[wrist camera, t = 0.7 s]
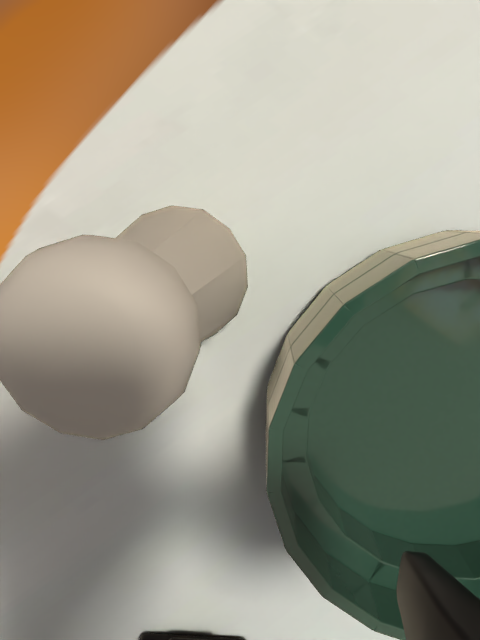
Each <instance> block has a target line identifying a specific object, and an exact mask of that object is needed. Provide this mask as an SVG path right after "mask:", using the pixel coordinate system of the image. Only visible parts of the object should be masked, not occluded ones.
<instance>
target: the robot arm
mask: <svg viewBox="0 0 480 640" xmlns="http://www.w3.org/2000/svg"><path fill="white" fill-rule="evenodd" d="M397 601H398V605H399V610H400V614H401V618H402V623H403V627H404V631H405V636H406V640H480V599H479V598H478V597H477V596H475V595H474V594H473V593H472V592H471V591H470V590H468V589H467V588H466V587H465V586H464V585H463V584H461V583H460V582H459V581H458V580H457V579H456V578H455V577H453V576H452V575H451V574H450V573H449V572H448V571H446V570H445V569H444V568H443V567H442V566H441V565H439V564H438V563H437V562H436V561H435V560H434V559H433V558H431V557H430V556H429V555H428V554H426V553H423V552H412V551H405V552H404V553H403V554H402V556H401V562H400V568H399V575H398V581H397ZM140 640H243V639H240V638H223V637H206V636H188V635H170V634H153V633H145V634H143V635H141V637H140Z"/></svg>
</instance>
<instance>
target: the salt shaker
mask: <svg viewBox="0 0 480 640" xmlns="http://www.w3.org/2000/svg"><path fill="white" fill-rule="evenodd" d="M247 287H248V285H247V267H246V255H245V253H244V252H243V250H242V248H241V247H240V245H239V243H238V242H237V240H236V239H235V237H234V235H233V234H232V232H231V230H230V229H229V228H228V227H227V226H225V225H224V224H223V223H221V222H220V221H218V220H217V219H216V218H214V217H213V216H212V215H210V214H209V213H207V212H206V211H205V210H203V209H195V208H187V207H179V206H168V207H165V208H162V209H159V210H156V211H152V212H149V213H146V214H143V215H141V216H140V217H139V218H138V219H137V220H135V221H134V222H133V223H132V224H131V225H130V226H129V227H128V228H126V229H125V230H124V231H123V232H122V233H121V234H120V235H119V236H117V237H116V238H109V237H102V236H94V235H80V236H77V237H74V238H71V239H68V240H64V241H61V242H58V243H55V244H52V245H49V246H46V247H42V248H39V249H37V250H36V251H34V252H32V253H30V254H29V255H27V256H25V258H24V259H23V260H22V261H21V262H20V263H19V264H18V265H17V266H16V268H15V269H14V270H13V271H12V272H11V273H10V274H9V275H8V276H7V278H6V279H5V280H4V281H3V282H2V283H1V284H0V381H1V382H2V383H3V385H4V386H5V388H6V389H7V390H8V392H9V393H10V395H11V396H12V397H13V399H14V400H15V401H16V403H17V404H18V406H19V407H20V408H21V410H22V411H24V412H26V413H27V414H29V415H31V416H32V417H34V418H36V419H37V420H39V421H41V422H42V423H44V424H46V425H48V426H49V427H51V428H53V429H54V430H56V431H58V432H59V433H63V434H69V435H75V436H81V437H87V438H93V439H99V440H105V439H109V438H112V437H116V436H119V435H123V434H126V433H130V432H133V431H137V430H140V429H143V428H145V427H146V426H147V425H148V424H149V423H150V422H152V421H153V420H154V419H155V418H156V417H157V416H158V415H160V414H161V413H162V412H163V411H164V410H165V409H167V408H168V407H169V406H170V405H171V404H172V403H174V402H175V401H176V400H177V399H178V398H179V397H180V396H181V395H182V394H183V393H184V392H185V389H186V387H187V384H188V381H189V378H190V376H191V373H192V370H193V367H194V365H195V362H196V359H197V357H198V354H199V350H200V346H201V342H202V341H204V340H205V339H207V338H209V337H211V336H213V335H214V334H216V333H217V332H218V331H219V330H220V329H221V328H223V327H224V326H225V325H226V324H227V323H228V322H229V321H231V320H232V319H233V318H234V317H235V316H236V315H237V314H238V311H239V308H240V306H241V303H242V300H243V298H244V295H245V292H246V290H247Z"/></svg>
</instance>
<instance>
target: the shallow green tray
mask: <svg viewBox="0 0 480 640" xmlns="http://www.w3.org/2000/svg"><path fill="white" fill-rule="evenodd" d="M265 441H266V491H267V495H268V498H269V501H270V504H271V507H272V510H273V513H274V516H275V519H276V522H277V525H278V528H279V531H280V534H281V537H282V540H283V543H284V546H285V548H286V551H287V552H288V553H289V555H290V556H291V557H292V559H293V560H294V561H295V562H296V564H297V565H298V566H299V567H300V569H301V570H302V571H303V573H304V574H305V575H306V576H307V578H308V579H309V580H310V582H311V583H312V584H313V585H314V587H315V588H316V589H317V590H318V592H319V593H320V594H321V596H322V597H324V598H325V599H327V600H328V601H330V602H331V603H333V604H334V605H336V606H337V607H339V608H340V609H341V610H343V611H344V612H346V613H347V614H349V615H350V616H352V617H353V618H355V619H356V620H358V621H359V622H361V623H362V624H364V625H365V626H367V627H368V628H370V629H371V630H374V631H375V632H378V633H381V634H384V635H387V636H391V637H394V638H397V639H400V640H406V636H405V631H404V627H403V623H402V618H401V614H400V610H399V605H398V601H397V581H398V575H399V568H400V562H401V556H402V554H403V553H404V552H405V551H412V552H423V553H426V554H428V555H429V556H430V557H431V558H433V559H434V560H435V561H436V562H437V563H438V564H439V565H441V566H442V567H443V568H444V569H445V570H446V571H448V572H449V573H450V574H451V575H452V576H453V577H455V578H456V579H457V580H458V581H459V582H460V583H461V584H463V585H464V586H465V587H466V588H467V589H468V590H470V591H471V592H472V593H473V594H474V595H475V596H477V597H478V598H479V599H480V231H462V230H446V231H441V232H438V233H435V234H431V235H428V236H425V237H421V238H418V239H415V240H411V241H408V242H405V243H401V244H398V245H394V246H391V247H388V248H384V249H382V250H379V251H378V252H376V253H375V254H373V255H372V256H370V257H369V258H367V259H366V260H364V261H363V262H361V263H360V264H358V265H357V266H355V267H354V268H352V269H351V270H349V271H348V272H346V273H345V274H343V275H342V276H340V277H338V278H337V279H335V280H334V281H332V282H331V283H329V284H328V285H327V286H326V287H325V288H324V289H323V290H322V291H321V293H320V294H319V295H318V296H317V298H316V299H315V300H314V301H313V303H312V304H311V305H310V306H309V307H308V309H307V310H306V311H305V312H304V314H303V315H302V316H301V317H300V318H299V320H298V321H297V322H296V323H295V325H294V326H293V327H292V328H291V330H290V331H289V332H288V334H287V336H286V338H285V341H284V343H283V346H282V349H281V351H280V354H279V357H278V359H277V362H276V364H275V367H274V370H273V372H272V375H271V377H270V380H269V383H268V385H267V404H266V436H265Z"/></svg>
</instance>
